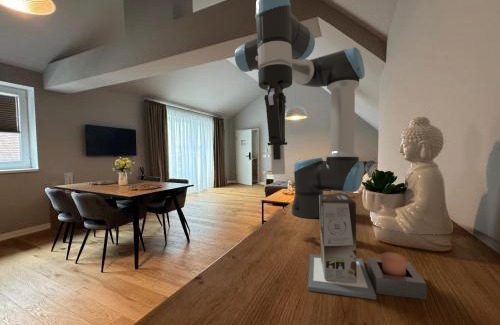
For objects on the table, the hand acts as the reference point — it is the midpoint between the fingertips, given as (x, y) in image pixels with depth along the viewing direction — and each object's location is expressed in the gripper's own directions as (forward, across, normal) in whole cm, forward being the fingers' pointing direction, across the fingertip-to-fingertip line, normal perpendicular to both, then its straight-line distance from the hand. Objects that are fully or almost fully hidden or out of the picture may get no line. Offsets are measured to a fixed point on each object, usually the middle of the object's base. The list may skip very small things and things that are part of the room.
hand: (278, 173), depth 52 cm
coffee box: (+22, 0, +12) cm, 25 cm away
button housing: (+22, +1, +23) cm, 32 cm away
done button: (+20, +1, +23) cm, 31 cm away
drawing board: (+22, 0, +12) cm, 26 cm away
